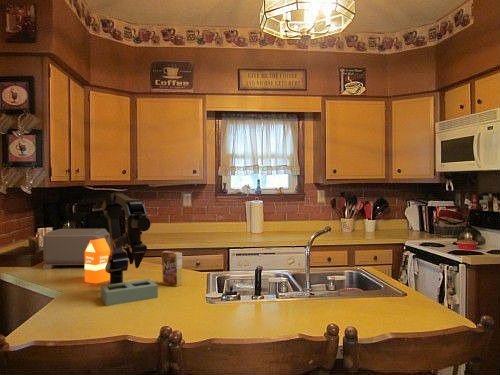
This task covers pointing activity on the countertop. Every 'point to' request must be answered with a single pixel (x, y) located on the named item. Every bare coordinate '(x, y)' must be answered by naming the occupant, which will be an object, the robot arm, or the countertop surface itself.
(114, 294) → the grey holed block
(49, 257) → the toaster
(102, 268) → the orange juice
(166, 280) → the candy box
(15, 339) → the countertop surface
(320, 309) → the countertop surface
